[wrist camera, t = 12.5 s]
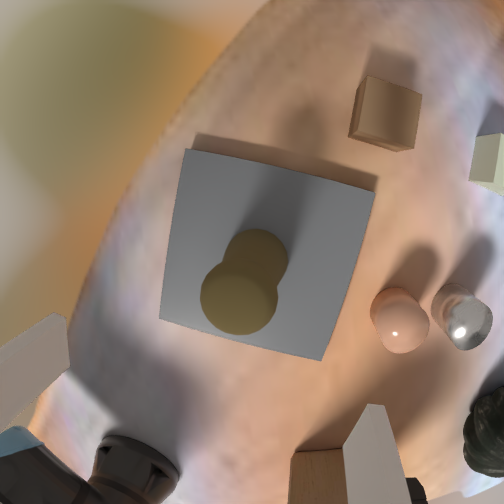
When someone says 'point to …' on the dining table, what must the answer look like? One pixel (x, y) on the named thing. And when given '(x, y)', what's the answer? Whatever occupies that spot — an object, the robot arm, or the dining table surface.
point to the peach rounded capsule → (399, 320)
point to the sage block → (489, 163)
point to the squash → (486, 435)
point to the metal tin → (461, 316)
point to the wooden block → (318, 478)
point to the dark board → (278, 223)
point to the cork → (245, 283)
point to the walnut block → (385, 115)
